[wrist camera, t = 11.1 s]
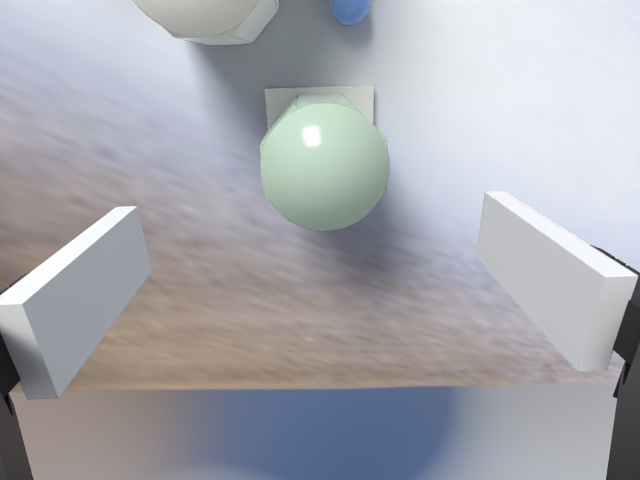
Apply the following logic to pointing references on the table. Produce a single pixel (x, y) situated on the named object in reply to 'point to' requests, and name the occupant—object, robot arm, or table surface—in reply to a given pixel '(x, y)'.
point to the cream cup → (212, 19)
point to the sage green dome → (323, 162)
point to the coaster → (284, 96)
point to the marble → (349, 10)
